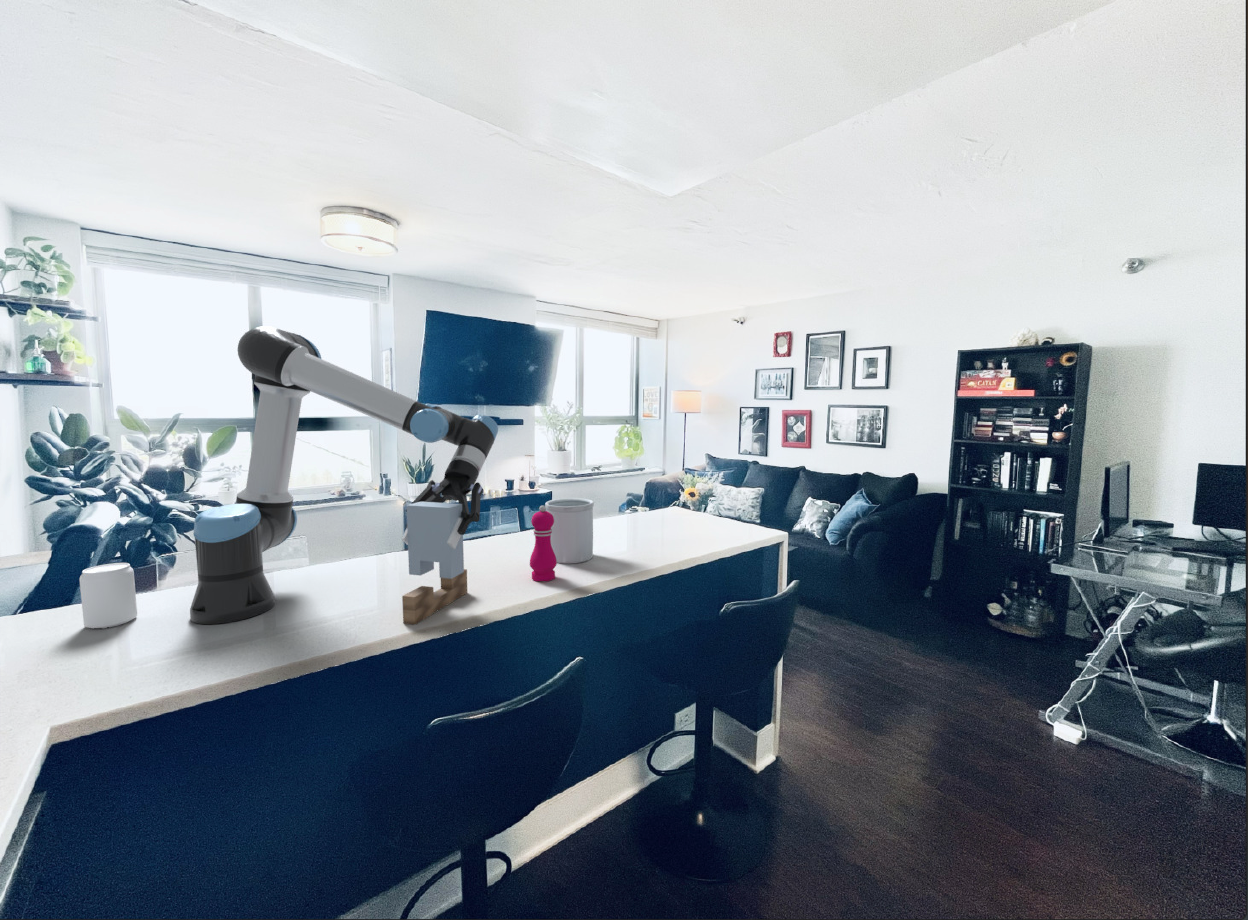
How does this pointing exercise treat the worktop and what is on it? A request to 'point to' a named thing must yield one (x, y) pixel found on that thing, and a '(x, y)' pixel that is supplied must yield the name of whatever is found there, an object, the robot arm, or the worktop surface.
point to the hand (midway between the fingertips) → (427, 544)
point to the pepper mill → (543, 547)
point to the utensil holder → (571, 529)
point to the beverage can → (108, 595)
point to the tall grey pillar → (433, 538)
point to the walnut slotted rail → (432, 598)
